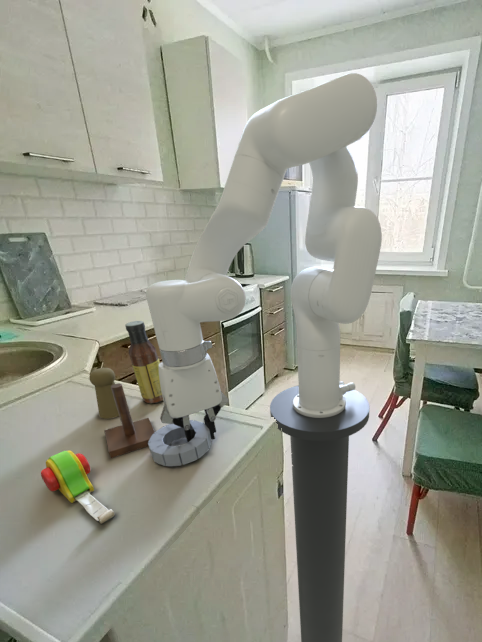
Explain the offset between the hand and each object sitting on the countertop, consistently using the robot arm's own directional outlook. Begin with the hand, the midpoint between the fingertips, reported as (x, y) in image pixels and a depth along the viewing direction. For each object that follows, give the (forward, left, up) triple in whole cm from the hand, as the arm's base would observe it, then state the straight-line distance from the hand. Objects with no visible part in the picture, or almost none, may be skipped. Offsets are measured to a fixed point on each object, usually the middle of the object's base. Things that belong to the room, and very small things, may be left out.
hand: (202, 438), depth 70 cm
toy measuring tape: (+22, +3, -1) cm, 22 cm away
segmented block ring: (+4, 0, 0) cm, 4 cm away
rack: (+12, -10, -1) cm, 16 cm away
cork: (+14, -25, -1) cm, 29 cm away
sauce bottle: (+4, -26, -1) cm, 26 cm away
